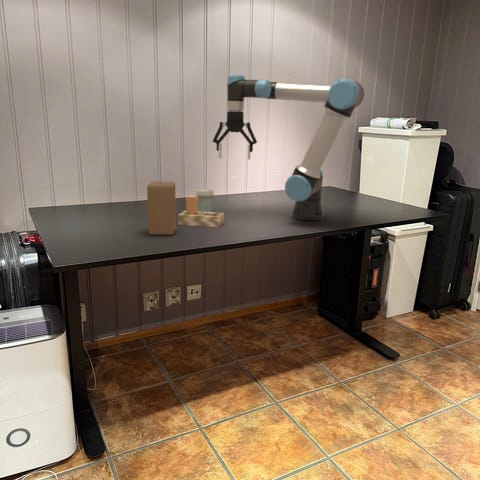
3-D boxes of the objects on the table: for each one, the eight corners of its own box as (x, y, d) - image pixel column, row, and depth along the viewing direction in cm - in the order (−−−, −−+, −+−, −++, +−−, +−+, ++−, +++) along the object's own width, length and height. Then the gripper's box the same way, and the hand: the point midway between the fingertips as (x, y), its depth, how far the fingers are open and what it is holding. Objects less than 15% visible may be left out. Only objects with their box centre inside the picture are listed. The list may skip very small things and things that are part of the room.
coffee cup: (197, 217, 217) (197, 191, 214) (194, 213, 225) (194, 188, 222) (215, 216, 219) (215, 191, 216) (211, 213, 227) (211, 188, 224)
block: (176, 229, 194) (175, 181, 189) (173, 235, 185) (172, 185, 179) (151, 229, 194) (150, 181, 189) (148, 235, 184) (146, 184, 179)
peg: (197, 222, 207) (197, 195, 204) (195, 224, 203) (195, 197, 200) (189, 222, 208) (188, 195, 205) (186, 224, 204) (186, 196, 201)
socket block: (223, 222, 208) (223, 213, 206) (219, 227, 199) (219, 217, 198) (184, 220, 211) (184, 210, 209) (178, 224, 202) (178, 214, 201)
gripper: (263, 111, 212) (262, 159, 218) (210, 110, 216) (210, 156, 222) (261, 111, 205) (259, 160, 211) (206, 110, 209) (206, 158, 215)
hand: (234, 158), depth 216 cm, fingers open, 13 cm apart
